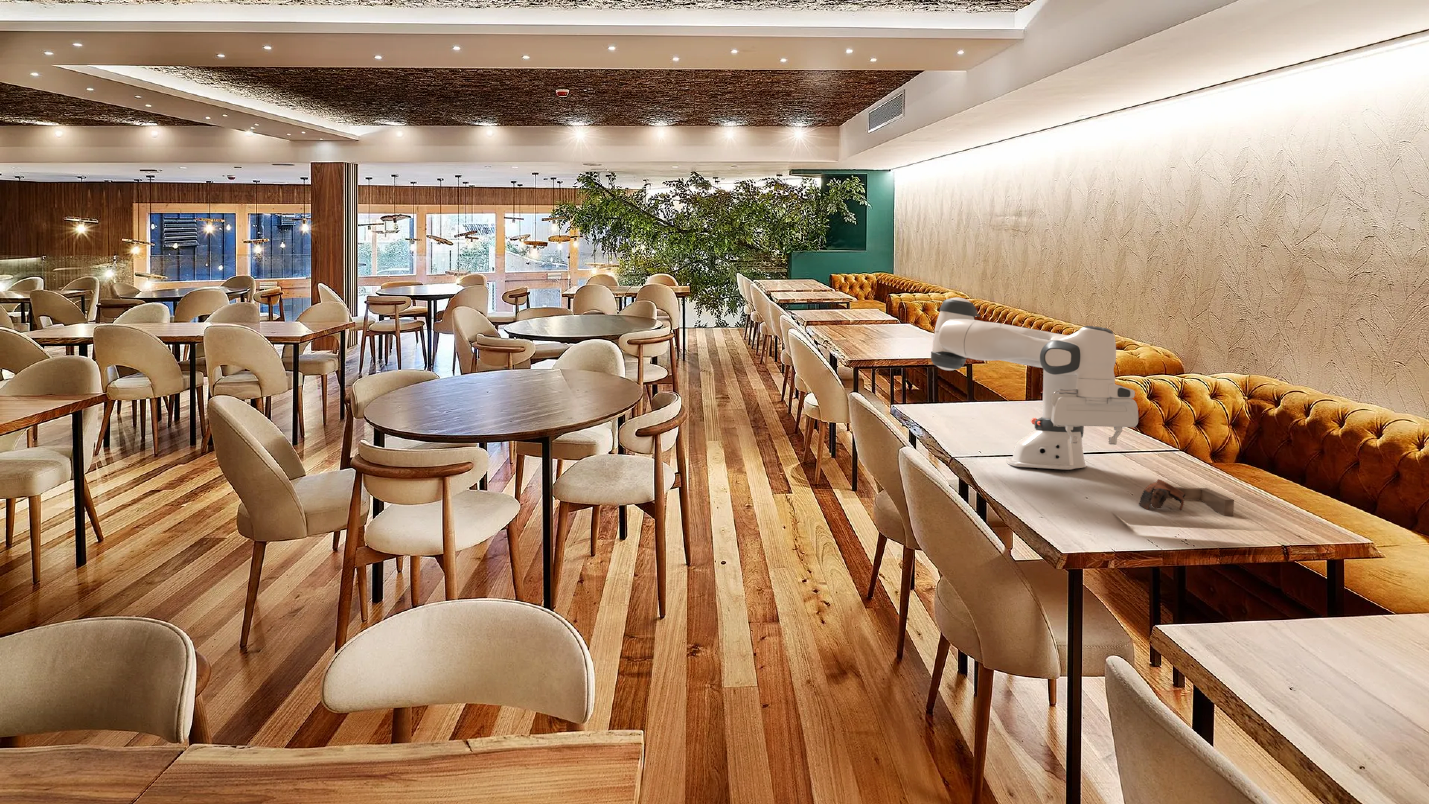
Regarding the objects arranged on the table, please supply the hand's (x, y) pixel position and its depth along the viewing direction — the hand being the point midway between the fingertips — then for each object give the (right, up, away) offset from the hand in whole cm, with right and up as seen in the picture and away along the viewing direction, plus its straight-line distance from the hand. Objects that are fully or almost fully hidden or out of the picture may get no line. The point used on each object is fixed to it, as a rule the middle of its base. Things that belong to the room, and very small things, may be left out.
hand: (1092, 443), depth 207 cm
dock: (+25, -16, 0) cm, 30 cm away
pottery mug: (+14, -18, -2) cm, 23 cm away
